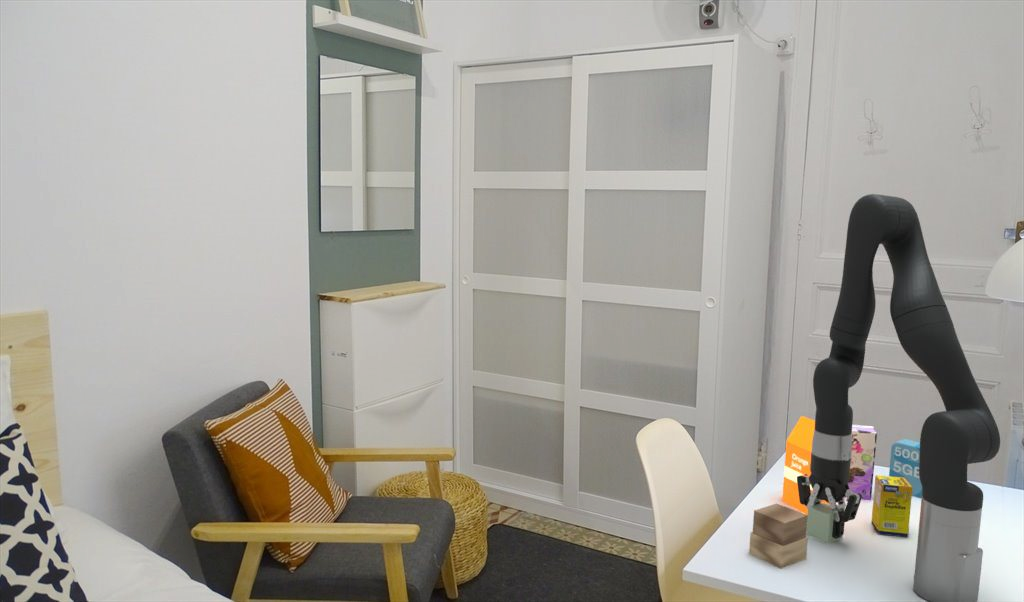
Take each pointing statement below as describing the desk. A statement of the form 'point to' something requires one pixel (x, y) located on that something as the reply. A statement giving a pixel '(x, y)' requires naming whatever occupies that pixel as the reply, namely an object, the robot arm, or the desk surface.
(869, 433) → the candy box
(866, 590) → the desk surface
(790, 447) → the orange juice
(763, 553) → the oak block
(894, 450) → the data package
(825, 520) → the green block
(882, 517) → the supplement box
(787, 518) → the walnut block
